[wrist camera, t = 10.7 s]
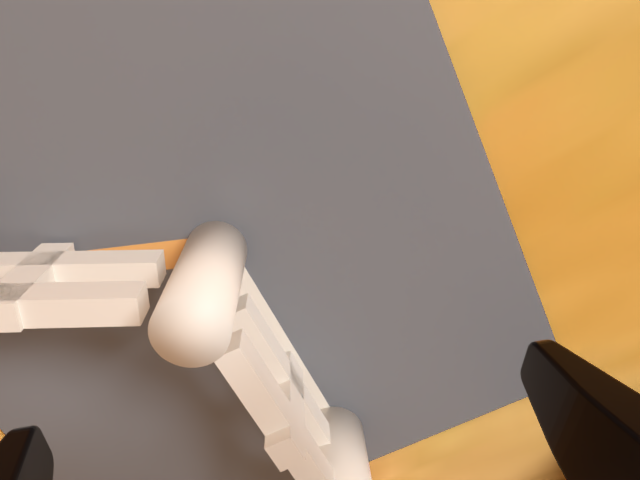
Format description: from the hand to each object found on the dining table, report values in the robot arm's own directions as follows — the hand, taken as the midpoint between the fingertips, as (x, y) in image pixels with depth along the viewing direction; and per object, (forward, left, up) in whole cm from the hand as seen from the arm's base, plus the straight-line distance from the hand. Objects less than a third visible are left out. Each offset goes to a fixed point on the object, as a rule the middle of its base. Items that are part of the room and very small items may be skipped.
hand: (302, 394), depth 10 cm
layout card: (-1, +5, -12) cm, 13 cm away
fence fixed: (-6, +4, -12) cm, 14 cm away
